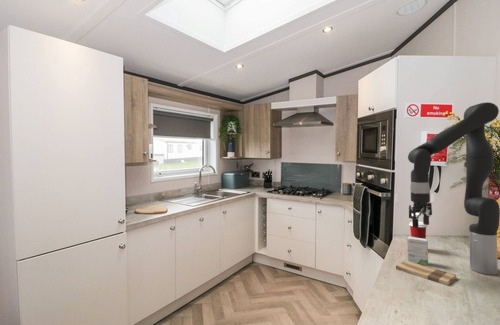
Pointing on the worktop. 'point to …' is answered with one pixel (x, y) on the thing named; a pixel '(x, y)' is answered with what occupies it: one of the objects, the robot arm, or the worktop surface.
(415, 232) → the coffee cup
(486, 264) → the robot arm
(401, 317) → the worktop surface
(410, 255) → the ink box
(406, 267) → the board
